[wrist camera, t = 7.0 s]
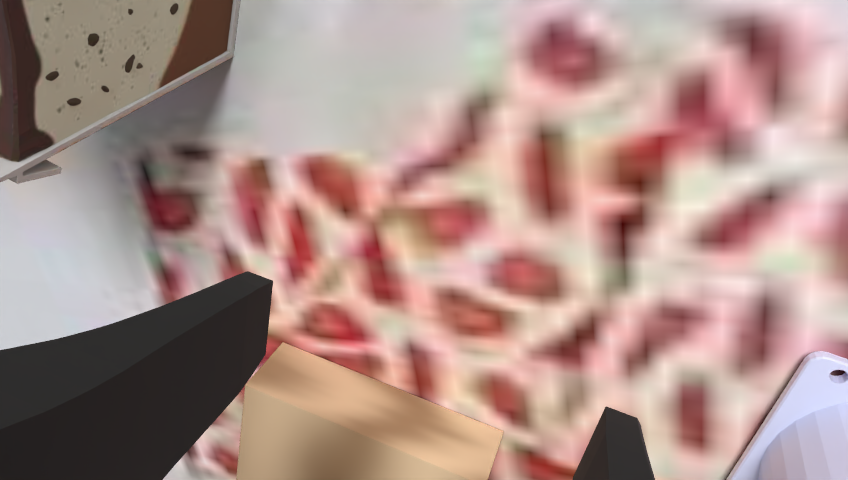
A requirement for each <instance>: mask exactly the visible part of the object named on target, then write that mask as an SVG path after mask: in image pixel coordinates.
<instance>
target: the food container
mask: <svg viewBox="0 0 848 480" xmlns="http://www.w3.org/2000/svg"><path fill="white" fill-rule="evenodd" d="M239 8H240V0H0V182H2V181H4V180H7V179H9V180H11V181H13V182H15V183H17V184H18V183H22V182H26V181H30V180H35V179H39V178H43V177H47V176H51V175H55V174H60V173H61V167H59V166H57V165H55V164H53V163H51V162H49V161H48V160H46V159H47V158H49V157H51V156H53V155H55V154H57V153H58V152H60V151H62V150H64V149H66V148H68V147H69V146H71V145H73V144H75V143H77V142H78V141H80V140H82V139H84V138H86V137H88V136H89V135H91V134H93V133H95V132H97V131H99V130H100V129H102V128H104V127H106V126H108V125H110V124H111V123H113V122H115V121H117V120H119V119H121V118H122V117H124V116H126V115H128V114H130V113H132V112H133V111H135V110H137V109H139V108H141V107H142V106H144V105H146V104H148V103H150V102H152V101H153V100H155V99H157V98H159V97H161V96H163V95H164V94H166V93H168V92H170V91H172V90H174V89H175V88H177V87H179V86H181V85H183V84H185V83H186V82H188V81H190V80H192V79H194V78H195V77H197V76H199V75H201V74H203V73H205V72H206V71H208V70H210V69H212V68H214V67H216V66H217V65H219V64H221V63H223V62H225V61H227V60H228V59H230V58H232V57H233V56H234V48H235V40H236V32H237V24H238V16H239Z"/></svg>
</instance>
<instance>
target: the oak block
mask: <svg viewBox="0 0 848 480" xmlns="http://www.w3.org/2000/svg"><path fill="white" fill-rule="evenodd" d="M503 432H504V431H501V430H499V429H496V428H494V427H491V426H489V425H486V424H484V423H481V422H479V421H476V420H474V419H471V418H469V417H467V416H464V415H462V414H459V413H457V412H454V411H452V410H449V409H447V408H444V407H442V406H439V405H437V404H434V403H432V402H429V401H427V400H424V399H422V398H420V397H417V396H415V395H412V394H410V393H407V392H405V391H402V390H400V389H397V388H395V387H392V386H390V385H387V384H385V383H382V382H380V381H377V380H375V379H373V378H370V377H368V376H365V375H363V374H360V373H358V372H355V371H353V370H350V369H348V368H345V367H343V366H340V365H338V364H335V363H333V362H330V361H328V360H326V359H323V358H321V357H318V356H316V355H313V354H311V353H308V352H306V351H303V350H301V349H298V348H296V347H293V346H291V345H288V344H286V343H282V344H281V345H280V346H279V347H278V348H277V350H276V351H275V352H274V353H273V354H272V355H271V356H270V358H269V359H268V360H267V361H266V362H265V363H264V364H263V366H262V367H261V368H260V369H259V370H258V371H257V372H256V373H255V375H254V376H253V377H252V378H251V379H250V380H249V381H248V383H247V384H246V385H245V393H244V404H243V414H242V425H241V435H240V446H239V456H238V467H237V478H236V480H488V477H489V474H490V471H491V468H492V465H493V462H494V459H495V456H496V453H497V450H498V447H499V444H500V441H501V438H502V435H503Z"/></svg>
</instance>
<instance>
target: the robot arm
mask: <svg viewBox="0 0 848 480" xmlns="http://www.w3.org/2000/svg"><path fill="white" fill-rule="evenodd" d="M272 286H273V281H272V280H269V279H267V278H264V277H261V276H259V275H256V274H253V273H251V272H248V271H247V272H245V273H242V274H239V275H237V276H234V277H232V278H229V279H227V280H225V281H222V282H220V283H217V284H215V285H213V286H210V287H208V288H205V289H203V290H201V291H198V292H196V293H193V294H191V295H188V296H186V297H184V298H181V299H179V300H176V301H174V302H171V303H169V304H166V305H164V306H161V307H158V308H155V309H153V310H150V311H147V312H144V313H141V314H139V315H136V316H133V317H130V318H127V319H124V320H122V321H119V322H116V323H113V324H110V325H106V326H103V327H100V328H96V329H93V330H89V331H86V332H82V333H78V334H74V335H71V336H67V337H63V338H59V339H54V340H50V341H45V342H40V343H35V344H30V345H25V346H20V347H15V348H10V349H4V350H0V480H163V478H164V477H165V476H166V475H167V474H168V472H169V471H170V470H171V469H172V468H173V466H174V465H175V464H176V463H177V462H178V461H179V460H180V459H181V458H182V456H183V455H184V454H185V453H186V452H187V451H188V450H189V449H190V448H191V446H192V445H193V444H194V443H195V442H196V441H197V440H198V439H199V438H200V436H201V435H202V434H203V433H204V432H205V431H206V430H207V429H208V428H209V426H210V425H211V424H212V423H213V422H214V421H215V420H216V419H217V418H218V416H219V415H220V414H221V413H222V412H223V411H224V410H225V408H226V407H227V406H228V405H229V404H230V403H231V402H232V401H233V399H234V398H235V397H236V396H237V395H238V394H239V392H240V391H241V390H242V388H243V387H244V385H245V384H246V383H247V381H248V380H249V378H250V377H251V375H252V374H253V372H254V371H255V369H256V368H257V366H258V365H259V363H260V362H261V360H262V359H263V357H264V356H265V354H266V344H267V334H268V325H269V315H270V305H271V296H272ZM834 370H844V371H845V373H844V374H842V375H839V376H833V375H831V374H830V373H831V372H832V371H834ZM573 480H655V478H654V474H653V471H652V468H651V464H650V461H649V457H648V454H647V450H646V446H645V442H644V438H643V434H642V430H641V425H640V423H639V421H638V419H637V418H635V417H633V416H630V415H627V414H625V413H622V412H619V411H617V410H614V409H611V408H609V407H605V409H604V412H603V414H602V416H601V418H600V420H599V422H598V425H597V427H596V429H595V431H594V433H593V435H592V438H591V440H590V442H589V444H588V446H587V448H586V451H585V453H584V455H583V457H582V459H581V461H580V463H579V466H578V468H577V470H576V472H575V474H574V476H573ZM726 480H848V359H846V358H843V357H840V356H837V355H834V354H832V353H829V352H824V351H817V352H813V353H811V354H808V355H807V356H806V357H805V358H804V360H803V361H802V363H801V364H800V366H799V368H798V369H797V371H796V372H795V374H794V375H793V377H792V378H791V380H790V381H789V383H788V385H787V386H786V388H785V389H784V391H783V392H782V394H781V395H780V397H779V399H778V400H777V402H776V403H775V405H774V406H773V408H772V409H771V411H770V413H769V414H768V416H767V417H766V419H765V420H764V422H763V423H762V425H761V426H760V428H759V430H758V431H757V433H756V434H755V436H754V437H753V439H752V440H751V442H750V444H749V445H748V447H747V448H746V450H745V451H744V453H743V454H742V456H741V458H740V459H739V461H738V462H737V464H736V465H735V467H734V468H733V470H732V471H731V473H730V475H729V476H728V478H727V479H726Z"/></svg>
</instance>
